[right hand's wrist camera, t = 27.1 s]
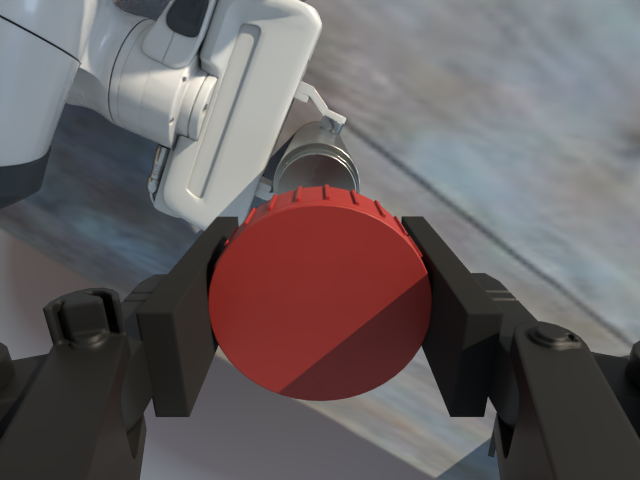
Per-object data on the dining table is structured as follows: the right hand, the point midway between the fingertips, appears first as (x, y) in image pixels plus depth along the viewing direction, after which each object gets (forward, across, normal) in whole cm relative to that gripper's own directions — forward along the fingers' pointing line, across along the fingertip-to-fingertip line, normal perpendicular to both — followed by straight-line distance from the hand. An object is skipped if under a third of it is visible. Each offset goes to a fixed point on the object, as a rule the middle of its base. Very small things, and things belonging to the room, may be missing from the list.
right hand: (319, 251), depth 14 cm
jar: (+27, 0, 0) cm, 27 cm away
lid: (-4, 0, 0) cm, 4 cm away
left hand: (+21, -1, 0) cm, 21 cm away
